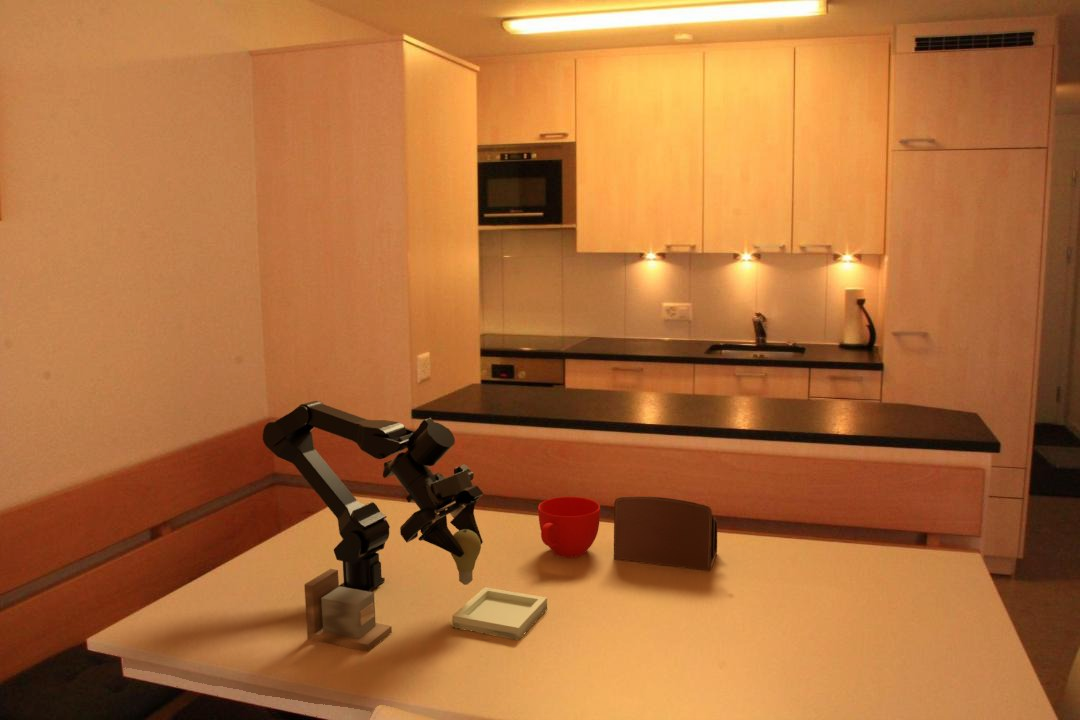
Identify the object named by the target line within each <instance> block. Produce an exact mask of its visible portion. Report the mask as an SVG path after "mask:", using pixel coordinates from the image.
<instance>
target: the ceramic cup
mask: <svg viewBox="0 0 1080 720" xmlns="http://www.w3.org/2000/svg"><path fill="white" fill-rule="evenodd" d="M537 512H538V523H539V529H540V537H541V540H542V543H543V544H544V545H545V546H547V547H548V548H550V550H551V551H552V552H553V553H554V555H556V556H557V555H558V557H560V558H565V557H567V559H572V558H573V557H574V558H579V557H581V556H584V555H585V554H586V552H587V551H588V550H589V549H590V548H591V547H592V546H593V544H594V542H595V540H596V537H597V535H598V532H599V527H600V521H601V505H600V504H599V502H597V501H595V500H592V499H589V498H586V497H580V496H578V497H577V496H561V497H559V496H558V497H552V498H549V499H546V500H544V501H542V502H540V503H539V504H538V507H537ZM574 558H573V559H574Z"/></svg>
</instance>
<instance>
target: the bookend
mask: <svg viewBox="0 0 1080 720" xmlns="http://www.w3.org/2000/svg"><path fill="white" fill-rule="evenodd" d="M339 580H340V579H339V570H338V569H333V568H330V569H327V570H325V572H323V573H320V574H319V575H318V576H316V577H314V578H312V579H311V580H309V581H308V582H306V583H304V586H303V587H304V604H305V616H306V617H305V619H306V632H307V633H306V635H307V640H310V641H315V642H320V643H326V644H330V645H335V646H340V647H345V648H349V649H353V650H358V651H363V652H367V653H368V652H369V651H371V650H372V649H374V647H376V646H377V645H378V644H380V643H381V642H383V640H385V639H386V638H388V637H389V636H390V635H391V634H392V631H393V630H392V628H393V627H392V625H389V624H383V623H377V622H376V608H375V607H376V606H375V592H373V591H369V592H368V591H363V590H357V589H352V588H346V587H341V586H339V585H340V583H339ZM390 633H391V634H390ZM385 637H386V638H385ZM380 641H381V642H380ZM379 642H380V643H379Z"/></svg>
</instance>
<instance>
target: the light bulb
mask: <svg viewBox="0 0 1080 720" xmlns="http://www.w3.org/2000/svg"><path fill="white" fill-rule="evenodd" d="M452 535H453V536H454V538H455V539H456V541H457V542H458V544H459V545H460V547H461V548H462V550H463V552H464V555H463V556H462V557H458V556H456V555H454V554H452V553H450V555H451V557H452V559H453V560H454V562H455V565H456V569H457V571H458V581H459V582H460V583H462V585H464V586H467V585H469V584H470V583H471V582H472V581H474V580H473V578H474V577H473V574H474V573H473V572H474V570H475V565H476V561H477V560H478V557H479V555H480V553H481V548H482V544H481V542H480V539H479V537H478V535H477V534H476V533H475V532H473V531H471V530H468V529H463V530H457V531H456V532H455V533H454V534H452Z"/></svg>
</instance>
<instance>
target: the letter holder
mask: <svg viewBox="0 0 1080 720" xmlns="http://www.w3.org/2000/svg"><path fill="white" fill-rule="evenodd" d="M613 507H614V508H613V559H614V560H615V561H624V562H625V561H626V562H632V563H641V564H648V565H649V564H650V565H656V566H663V567H672V568H673V567H674V568H682V569H691V570H695V571H696V570H697V571H706V572H710V571H711V569H712V567H713V565H714V562H715V560H716V557H717V553H718V527H719V526H718V520H717V519H716V518H715V516H714V515H713V511H712V509H711V507H709V505H705V504H701V503H697V502H693V501H689V500H683V499H677V498H668V497H661V496H659V497H658V496H622V497H618V498H616V499H615V500H614V503H613Z"/></svg>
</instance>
